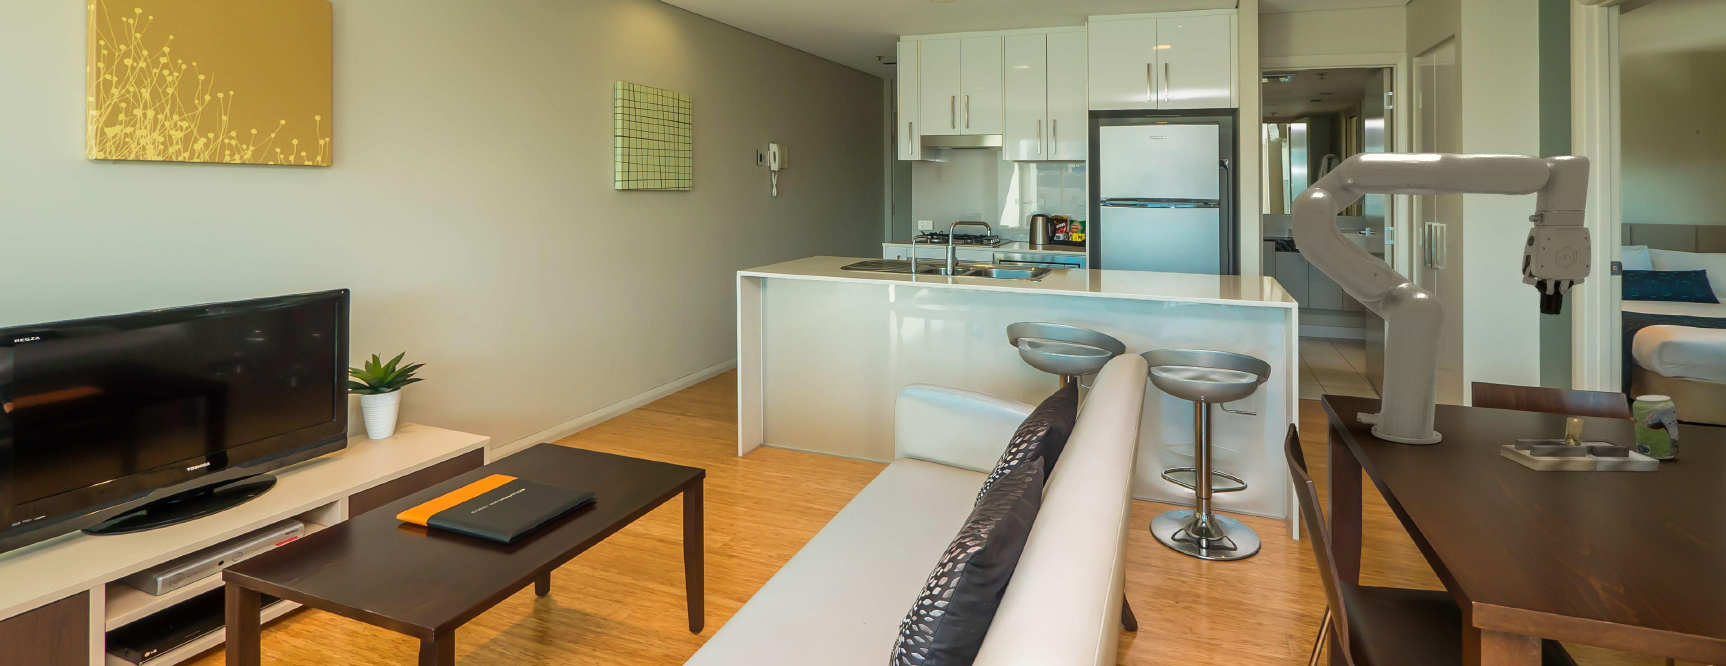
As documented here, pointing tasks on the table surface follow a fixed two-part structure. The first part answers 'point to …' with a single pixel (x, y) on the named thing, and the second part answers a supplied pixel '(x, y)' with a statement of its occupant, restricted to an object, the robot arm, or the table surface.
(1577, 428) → the bolt
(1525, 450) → the lock board
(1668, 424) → the beverage can
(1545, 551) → the table surface
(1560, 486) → the table surface
